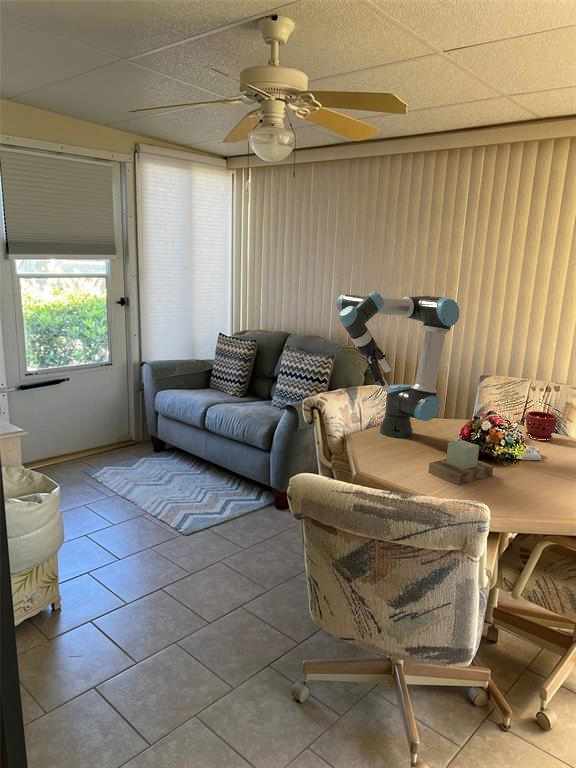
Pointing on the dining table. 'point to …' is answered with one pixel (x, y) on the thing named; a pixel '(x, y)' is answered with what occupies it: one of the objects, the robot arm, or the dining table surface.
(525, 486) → the dining table surface
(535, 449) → the white brass knuckles
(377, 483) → the dining table surface
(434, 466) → the block
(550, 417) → the plant pot
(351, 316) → the robot arm
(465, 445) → the green block
